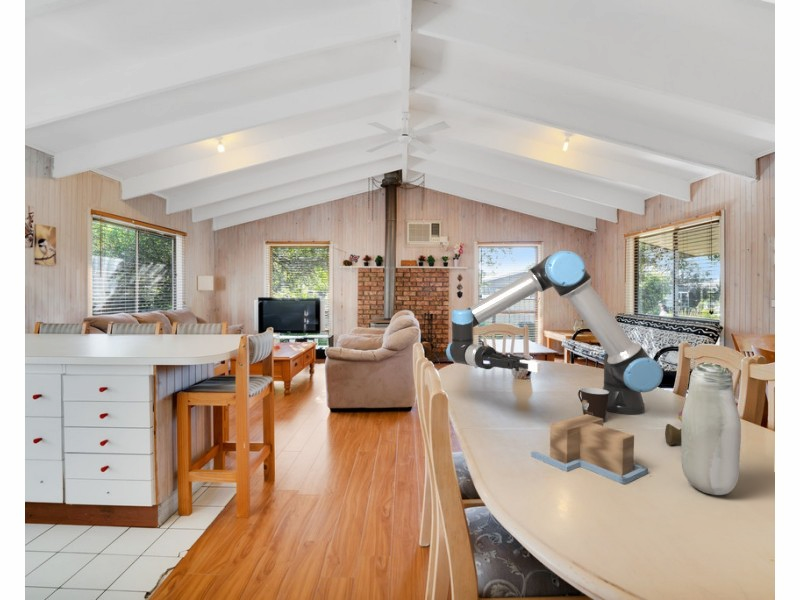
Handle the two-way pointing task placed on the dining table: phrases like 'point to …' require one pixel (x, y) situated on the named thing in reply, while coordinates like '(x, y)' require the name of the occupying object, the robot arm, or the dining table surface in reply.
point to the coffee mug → (594, 401)
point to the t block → (592, 444)
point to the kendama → (672, 435)
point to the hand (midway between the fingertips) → (539, 367)
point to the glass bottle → (711, 431)
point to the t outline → (593, 468)
